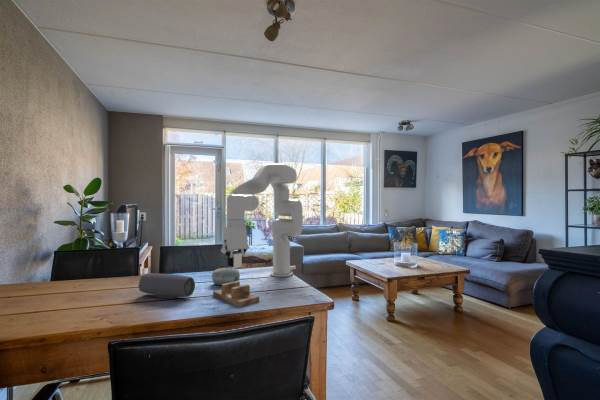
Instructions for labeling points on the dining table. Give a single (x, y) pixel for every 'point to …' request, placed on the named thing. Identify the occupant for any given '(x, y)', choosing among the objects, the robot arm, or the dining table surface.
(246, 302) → the notched board
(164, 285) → the bluetooth speaker
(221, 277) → the grey yarn ball
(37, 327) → the dining table surface
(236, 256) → the white rectangular block
